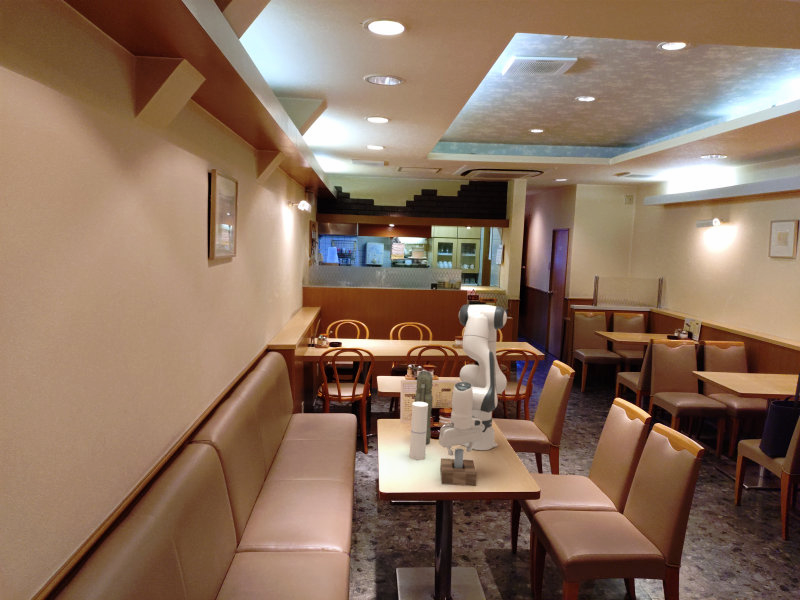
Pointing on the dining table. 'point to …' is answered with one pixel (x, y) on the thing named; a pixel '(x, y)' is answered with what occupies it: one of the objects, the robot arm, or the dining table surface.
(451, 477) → the socket block
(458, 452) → the peg
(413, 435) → the cylindrical container
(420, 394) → the thermos
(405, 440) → the dining table surface
